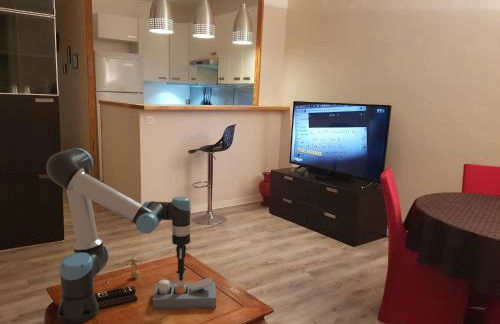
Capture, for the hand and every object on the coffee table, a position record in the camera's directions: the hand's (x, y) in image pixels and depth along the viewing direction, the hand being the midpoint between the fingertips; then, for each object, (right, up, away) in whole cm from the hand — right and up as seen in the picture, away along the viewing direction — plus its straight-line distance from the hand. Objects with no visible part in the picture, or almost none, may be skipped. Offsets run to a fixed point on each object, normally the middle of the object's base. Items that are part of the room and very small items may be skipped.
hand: (181, 285), depth 171 cm
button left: (-7, -2, 0) cm, 8 cm away
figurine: (-26, -3, +19) cm, 32 cm away
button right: (0, -5, +1) cm, 5 cm away
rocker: (+9, 0, +1) cm, 9 cm away
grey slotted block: (+2, -7, +1) cm, 7 cm away
